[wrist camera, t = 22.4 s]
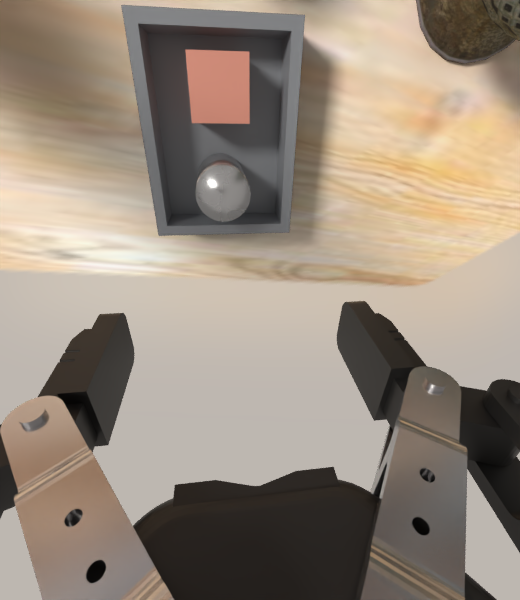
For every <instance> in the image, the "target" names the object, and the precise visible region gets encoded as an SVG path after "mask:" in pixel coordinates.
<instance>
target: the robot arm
mask: <svg viewBox="0 0 520 600" xmlns="http://www.w3.org/2000/svg"><path fill="white" fill-rule="evenodd" d="M337 345H338V349H339V351H340V353H341V355H342V357H343V359H344V361H345V363H346V365H347V367H348V369H349V371H350V373H351V375H352V377H353V379H354V381H355V383H356V385H357V387H358V389H359V391H360V393H361V395H362V397H363V399H364V401H365V403H366V405H367V407H368V409H369V411H370V413H371V415H372V417H373V419H374V420H384V419H387V421H388V423H389V424H390V426H389V429H388V432H387V435H386V439H385V443H384V446H383V451H382V454H381V458H380V461H379V465H378V469H377V473H376V476H375V480H374V483H373V486H372V489H371V492H369V491H367V490H365V489H363V488H362V487H360V486H357V485H355V484H352V483H349V482H346V481H342V480H338V479H337V476H336V473H335V470H334V467H328V468H320V469H311V470H302V471H295V472H293V473H290V474H288V475H286V476H283V477H281V478H279V479H276V480H273V481H271V482H269V483H266V484H263V485H261V486H249V485H243V484H236V483H230V482H224V481H217V480H213V481H204V482H195V483H187V484H178V485H175V490H174V498H173V499H171V500H168V501H166V502H164V503H162V504H160V505H159V506H157V507H155V508H154V509H152V510H151V511H150V512H148V513H147V514H146V515H144V516H143V517H142V518H141V519H140V520H138V521H137V522H136V523H135V525H133V526H132V524H131V522H130V520H129V518H128V517H127V515H126V513H125V511H124V509H123V508H122V506H121V504H120V502H119V500H118V498H117V497H116V495H115V493H114V491H113V489H112V487H111V486H110V484H109V482H108V480H107V478H106V477H105V475H104V473H103V471H102V469H101V467H100V466H99V464H98V462H97V460H96V458H95V456H94V455H93V453H92V452H93V449H94V446H103V445H108V444H109V441H110V437H111V434H112V431H113V428H114V425H115V421H116V418H117V415H118V411H119V408H120V405H121V402H122V398H123V395H124V392H125V389H126V386H127V382H128V379H129V376H130V373H131V369H132V366H133V363H134V347H133V343H132V339H131V335H130V331H129V327H128V323H127V320H126V316H125V315H124V313H114V314H100V315H99V316H98V318H97V320H96V322H95V323H94V325H93V327H92V329H84V330H83V331H82V332H81V333H79V334H78V335H77V336H76V337H74V338H73V339H72V340H71V342H70V344H69V346H68V347H67V349H66V350H65V353H64V354H63V355H62V357H61V359H60V362H59V363H58V364H57V365H56V367H55V369H54V371H53V372H52V374H51V376H50V377H49V379H48V381H47V382H46V384H45V386H44V387H43V389H42V391H41V392H40V394H39V396H38V397H37V398H34V399H31V400H29V401H27V402H25V403H23V404H21V405H20V406H18V407H17V408H15V409H14V410H13V411H12V412H11V413H10V414H9V415H8V416H7V417H6V418H5V420H4V421H3V423H2V424H1V425H0V518H1V516H2V513H3V511H4V510H7V509H9V508H12V507H14V506H16V510H17V513H18V517H19V520H20V524H21V527H22V530H23V534H24V537H25V541H26V544H27V548H28V551H29V554H30V558H31V561H32V565H33V568H34V572H35V575H36V578H37V582H38V585H39V589H40V592H41V596H42V599H43V600H496V599H495V598H494V597H493V596H492V595H491V594H490V593H488V592H487V591H486V590H485V589H484V588H483V587H481V586H480V585H479V584H478V583H477V582H476V581H474V580H473V579H472V578H471V577H470V576H469V575H468V574H466V573H465V544H466V498H467V496H466V495H467V469H468V470H469V472H470V474H471V475H472V477H473V478H474V480H475V482H476V483H477V485H478V486H479V488H480V490H481V491H482V493H483V494H484V496H485V498H486V499H487V501H488V502H489V504H490V506H491V507H492V509H493V510H494V512H495V514H496V515H497V517H498V518H499V520H500V522H501V523H502V525H503V526H504V528H505V529H506V531H507V533H508V535H509V536H510V538H511V539H512V541H513V543H514V544H515V546H516V547H517V549H518V550H519V552H520V461H519V460H518V458H517V457H516V456H517V455H518V453H519V452H520V383H518V382H515V381H511V380H505V379H504V380H503V379H501V380H496V381H494V382H492V383H491V385H490V386H489V388H488V390H487V391H485V390H479V389H473V388H467V387H461V386H459V384H458V383H457V382H456V381H455V380H454V379H453V378H452V377H451V376H450V375H448V374H447V373H445V372H443V371H441V370H438V369H436V368H432V367H427V366H426V365H425V363H424V362H423V361H422V360H421V358H420V357H419V356H418V355H417V353H416V352H415V351H414V350H413V348H412V347H411V346H410V345H409V344H408V342H407V341H406V340H404V337H403V336H402V334H401V333H400V332H398V329H397V328H396V327H395V326H394V325H393V323H392V322H391V321H390V320H388V319H387V318H385V317H384V316H382V315H381V314H379V313H378V314H377V313H376V314H375V313H374V312H373V310H372V309H371V308H370V306H369V305H368V304H367V303H366V302H365V301H358V302H345V303H344V304H343V306H342V311H341V316H340V321H339V327H338V332H337Z"/></svg>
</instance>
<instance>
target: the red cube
mask: <svg viewBox="0 0 520 600" xmlns="http://www.w3.org/2000/svg"><path fill="white" fill-rule="evenodd" d="M185 51H186V63H187V74H188V85H189V96H190V107H191V119H192V123H229V124H250V96H249V52H245V51H216V50H187V49H185Z"/></svg>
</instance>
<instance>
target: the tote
mask: <svg viewBox="0 0 520 600" xmlns="http://www.w3.org/2000/svg"><path fill="white" fill-rule="evenodd" d="M121 6H122V12H123V18H124V24H125V30H126V37H127V43H128V49H129V55H130V61H131V68H132V74H133V80H134V86H135V92H136V98H137V105H138V111H139V117H140V123H141V129H142V136H143V142H144V148H145V154H146V160H147V166H148V173H149V179H150V185H151V191H152V197H153V204H154V210H155V216H156V222H157V228H158V234H159V236H165V235H205V234H245V233H285V232H289V229H290V215H291V201H292V187H293V174H294V160H295V146H296V132H297V118H298V104H299V90H300V77H301V63H302V49H303V35H304V21H305V15H294V14H276V13H258V12H240V11H221V10H203V9H185V8H167V7H148V6H130V5H121ZM185 49H187V50H216V51H245V52H249V96H250V124H229V123H192V119H191V107H190V96H189V85H188V74H187V63H186V51H185ZM216 153H224V154H228V155H230V156H232V157H233V158H235V159H236V160H237V161H238V163H239V164H240V166H241V168H242V170H243V172H244V174H245V177H246V179H247V181H248V184H249V187H250V193H251V197H250V202H249V205H248V207H247V209H246V211H245V212H244V213H243V214H242V215H241V216H240V217H238V218H236V219H234V220H232V221H227V222H221V221H216V220H213V219H211V218H209V217H208V216H206V215H205V214H204V213H203V212H202V210H201V209H200V207H199V206H198V203H197V200H196V193H195V192H196V184H197V177H198V171H199V167H200V165H201V163H202V162H203V161H204V160H205V159H206V158H207V157H208V156H210V155H212V154H216Z"/></svg>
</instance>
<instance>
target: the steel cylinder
mask: <svg viewBox="0 0 520 600" xmlns="http://www.w3.org/2000/svg"><path fill="white" fill-rule="evenodd" d="M195 193H196V200H197V203H198V206H199V207H200V209H201V210H202V212H203V213H204V214H205V215H206V216H208V217H209V218H211V219H213V220H216V221H221V222H227V221H232V220H234V219H236V218H238V217H240V216H241V215H242V214H243V213H244V212H245V211H246V209H247V207H248V205H249V202H250V197H251V193H250V187H249V184H248V181H247V179H246V177H245V174H244V172H243V170H242V168H241V166H240V164H239V163H238V161H237V160H236V159H235V158H233V157H232V156H230V155H228V154H224V153H216V154H212V155H210V156H208V157H207V158H206V159H205V160H204V161H203V162H202V163H201V165H200V167H199V171H198V177H197V184H196V192H195Z"/></svg>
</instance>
